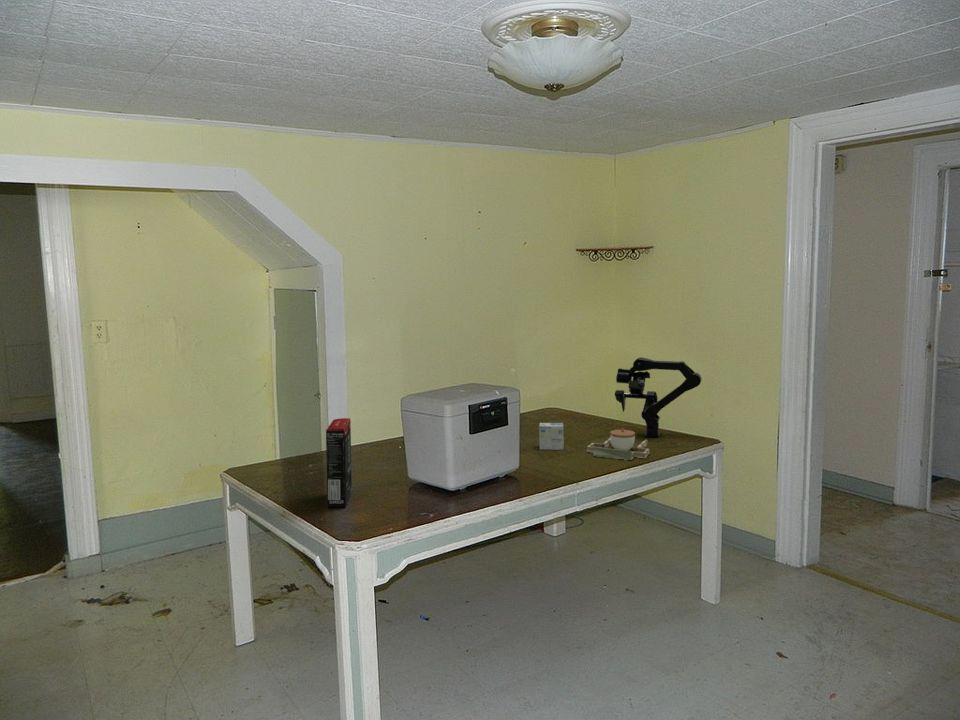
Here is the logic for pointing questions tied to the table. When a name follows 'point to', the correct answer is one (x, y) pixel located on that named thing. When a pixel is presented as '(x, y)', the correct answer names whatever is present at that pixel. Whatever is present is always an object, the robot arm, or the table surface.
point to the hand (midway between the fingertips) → (633, 411)
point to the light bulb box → (551, 436)
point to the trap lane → (617, 451)
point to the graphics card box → (338, 462)
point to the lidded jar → (622, 439)
